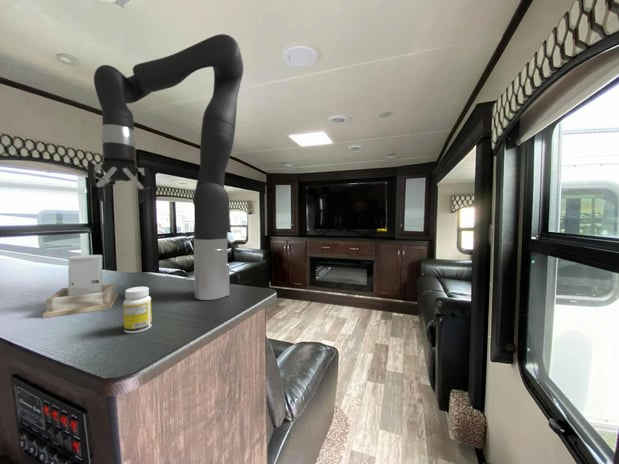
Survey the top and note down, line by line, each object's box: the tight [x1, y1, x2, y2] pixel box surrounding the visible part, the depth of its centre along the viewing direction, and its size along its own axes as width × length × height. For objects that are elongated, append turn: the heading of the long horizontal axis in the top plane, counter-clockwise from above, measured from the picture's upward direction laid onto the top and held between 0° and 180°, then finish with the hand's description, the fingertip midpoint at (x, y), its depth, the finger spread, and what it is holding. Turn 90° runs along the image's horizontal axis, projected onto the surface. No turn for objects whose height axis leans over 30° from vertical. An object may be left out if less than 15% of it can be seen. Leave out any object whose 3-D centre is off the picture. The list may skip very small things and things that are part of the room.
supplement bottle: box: [122, 286, 153, 334], centre depth 51 cm, size 5×5×8 cm
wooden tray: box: [42, 282, 118, 319], centre depth 64 cm, size 12×12×4 cm
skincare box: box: [68, 254, 103, 296], centre depth 64 cm, size 6×4×12 cm
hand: (122, 202), depth 71 cm, fingers open, 8 cm apart
